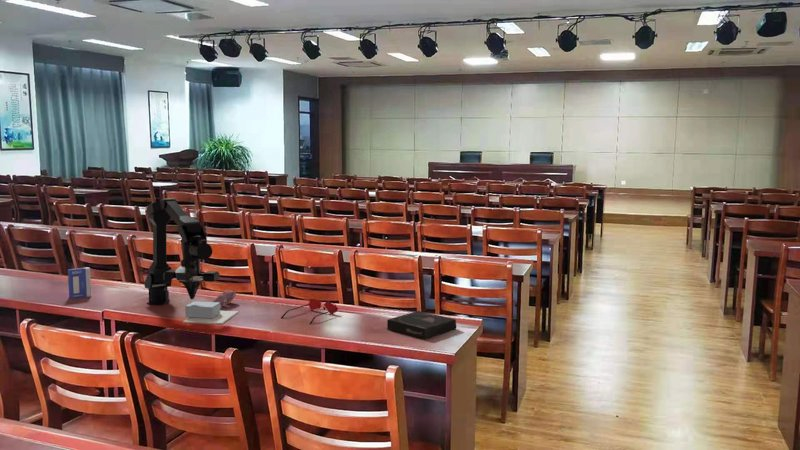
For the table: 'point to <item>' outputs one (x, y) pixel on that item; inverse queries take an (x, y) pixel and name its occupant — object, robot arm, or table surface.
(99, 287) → the table surface
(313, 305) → the glasses
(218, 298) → the video game controller
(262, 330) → the table surface
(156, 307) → the table surface
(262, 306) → the table surface
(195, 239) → the robot arm
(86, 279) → the walkman
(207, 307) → the slab
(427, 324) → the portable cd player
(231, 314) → the mat
